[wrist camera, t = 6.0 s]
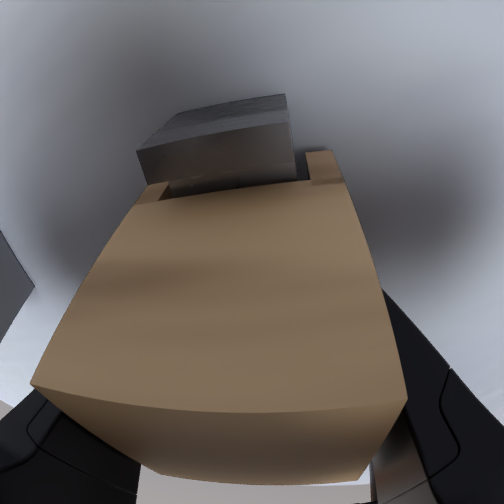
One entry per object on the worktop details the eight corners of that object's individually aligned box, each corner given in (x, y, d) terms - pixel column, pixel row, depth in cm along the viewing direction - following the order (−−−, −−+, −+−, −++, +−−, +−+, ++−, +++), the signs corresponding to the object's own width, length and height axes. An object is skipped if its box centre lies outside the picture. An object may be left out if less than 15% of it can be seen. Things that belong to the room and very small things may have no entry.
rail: (316, 399, 18) (317, 443, 15) (268, 401, 18) (265, 444, 16) (285, 93, 8) (288, 121, 5) (177, 113, 8) (135, 151, 6)
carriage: (337, 286, 11) (357, 480, 6) (201, 297, 12) (160, 474, 7) (331, 149, 8) (408, 398, 3) (155, 176, 9) (29, 383, 4)
